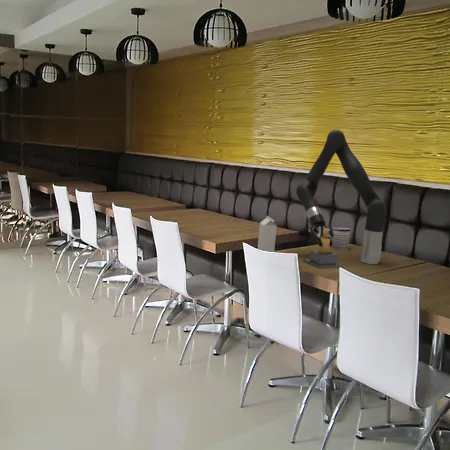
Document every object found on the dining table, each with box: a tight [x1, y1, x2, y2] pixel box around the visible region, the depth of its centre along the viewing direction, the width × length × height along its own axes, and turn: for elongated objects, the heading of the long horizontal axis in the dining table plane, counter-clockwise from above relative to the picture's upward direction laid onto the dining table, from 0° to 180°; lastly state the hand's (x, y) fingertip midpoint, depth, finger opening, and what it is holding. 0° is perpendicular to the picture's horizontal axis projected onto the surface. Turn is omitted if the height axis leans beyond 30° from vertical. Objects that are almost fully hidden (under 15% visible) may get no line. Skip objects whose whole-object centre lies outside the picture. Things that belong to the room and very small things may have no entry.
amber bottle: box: [317, 228, 330, 254], centre depth 264 cm, size 5×5×16 cm
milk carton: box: [257, 215, 277, 253], centre depth 283 cm, size 7×7×19 cm
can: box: [329, 227, 351, 251], centre depth 308 cm, size 11×11×12 cm
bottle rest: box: [304, 250, 342, 269], centre depth 266 cm, size 13×13×6 cm
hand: (326, 245), depth 263 cm, fingers open, 5 cm apart
